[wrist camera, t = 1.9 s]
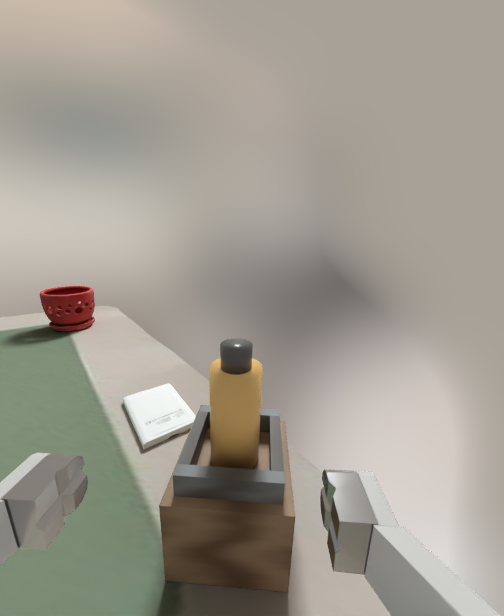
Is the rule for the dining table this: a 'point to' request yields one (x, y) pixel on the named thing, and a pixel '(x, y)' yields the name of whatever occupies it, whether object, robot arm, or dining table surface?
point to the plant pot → (68, 307)
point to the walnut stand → (230, 513)
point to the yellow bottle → (235, 406)
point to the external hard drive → (158, 414)
